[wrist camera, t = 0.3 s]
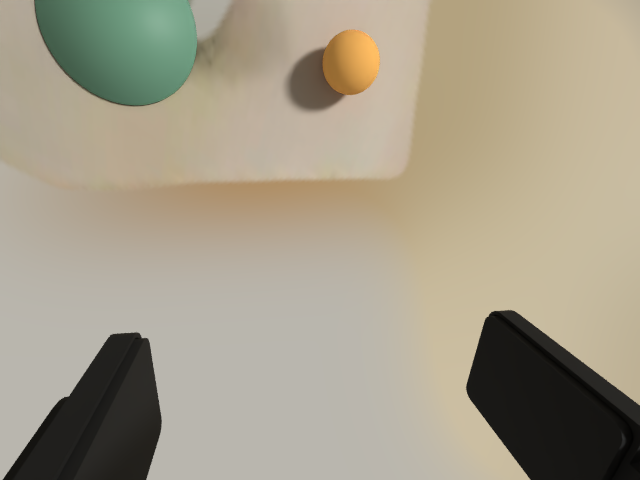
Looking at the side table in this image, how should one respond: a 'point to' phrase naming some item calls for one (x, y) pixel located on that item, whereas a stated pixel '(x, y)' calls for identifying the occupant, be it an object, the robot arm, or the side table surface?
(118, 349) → the robot arm
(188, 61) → the disc
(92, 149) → the side table surface
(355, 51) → the ball
